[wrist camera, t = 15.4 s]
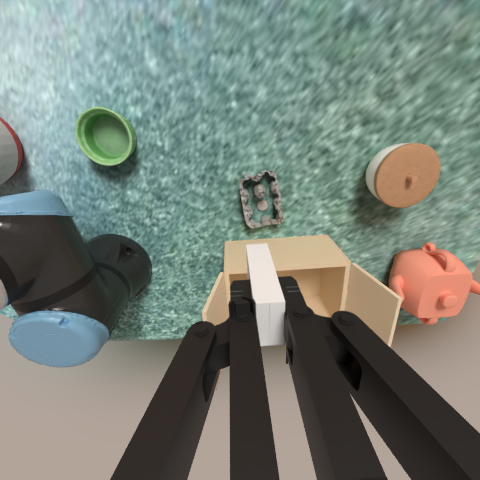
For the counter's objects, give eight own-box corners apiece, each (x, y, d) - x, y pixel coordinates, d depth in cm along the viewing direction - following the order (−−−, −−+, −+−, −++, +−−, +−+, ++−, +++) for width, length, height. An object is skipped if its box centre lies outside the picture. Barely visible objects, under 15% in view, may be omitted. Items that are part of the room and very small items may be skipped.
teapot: (361, 270, 60) (393, 305, 49) (426, 222, 56) (477, 248, 44) (395, 306, 65) (430, 346, 53) (457, 265, 60) (510, 298, 49)
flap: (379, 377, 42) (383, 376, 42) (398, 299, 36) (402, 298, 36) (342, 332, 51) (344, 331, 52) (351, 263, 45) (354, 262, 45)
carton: (230, 302, 62) (230, 340, 51) (224, 241, 56) (223, 270, 45) (321, 295, 63) (341, 332, 52) (327, 234, 56) (350, 261, 45)
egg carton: (281, 218, 54) (285, 225, 51) (246, 224, 55) (247, 232, 51) (275, 166, 50) (279, 170, 46) (236, 174, 50) (237, 178, 47)
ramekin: (125, 172, 49) (116, 176, 45) (79, 141, 47) (65, 143, 43) (149, 130, 46) (141, 131, 42) (101, 96, 44) (88, 93, 40)
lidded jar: (414, 185, 52) (450, 197, 44) (361, 204, 54) (386, 219, 45) (408, 131, 48) (447, 133, 39) (351, 153, 49) (377, 159, 41)
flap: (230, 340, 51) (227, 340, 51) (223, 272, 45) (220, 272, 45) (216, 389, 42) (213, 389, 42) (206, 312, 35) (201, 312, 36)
